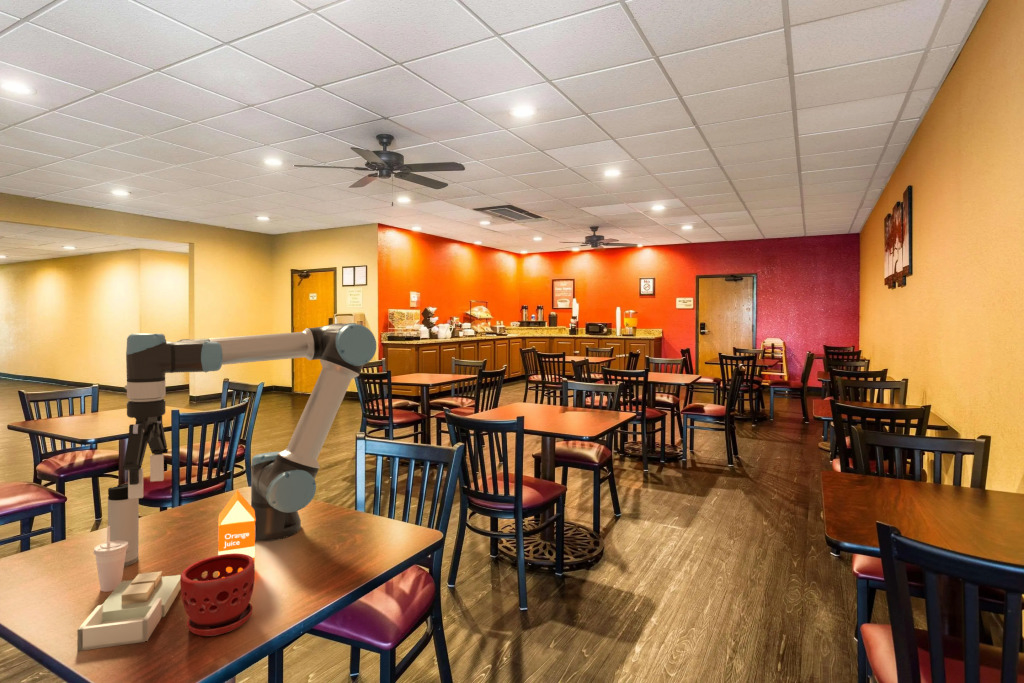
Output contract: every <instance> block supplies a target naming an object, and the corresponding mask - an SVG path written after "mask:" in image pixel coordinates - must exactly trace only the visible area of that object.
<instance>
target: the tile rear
mask: <svg viewBox="0 0 1024 683" xmlns="http://www.w3.org/2000/svg"><path fill="white" fill-rule="evenodd" d="M162 577H163V571H162V570H161V571H153V572H142V573H138V574H137V575H136V576H135V577H134V579H132V580H133V581H132V583H131V585H135V584H144V583H153V582H154V590H155V589H156V588H157V586H158V585H159V583H160V582H161V580H162Z"/></svg>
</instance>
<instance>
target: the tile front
mask: <svg viewBox="0 0 1024 683" xmlns="http://www.w3.org/2000/svg"><path fill="white" fill-rule="evenodd" d="M153 592H154V582H153V583H144V584H135V585H129V586H128V588H127V589H126V590H125V591H124V593H123V594H122V604H121V605H124V604H133V603H141V602H147V601H148V600H149V598H150V597H151V595H152V594H153Z"/></svg>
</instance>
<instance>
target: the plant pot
mask: <svg viewBox="0 0 1024 683" xmlns="http://www.w3.org/2000/svg"><path fill="white" fill-rule="evenodd" d="M227 567H231V568H232V572H227V571H226V568H227ZM255 567H256V566H254V560H253V558H252V557H251V556H249V555H246V554H238V553H233V554H223V555H218V554H217V555H213V556H210V557H206V558H203V559H201V560H198V561H196V562H194V563H191V564H190V565H189V566H187V567H186V568H185V569H183V571H182V572H181V574H180V575H181V577H180V585H181V589H180V593H181V601H182V605H183V607H184V610H185V612H186V614H187V616H188V619H187V622H186V626H187V629H188V630H189V631H190V632H191V633H192V634H194V635H197V636H202V637H215V636H218V635H219V636H220V635H222V634H225V633H229V632H231V631H234V630H236V629H238V628H240V627H241V626H242V625H244V624H245V623H246V622H248V620H249V619H250V618H251V616H252V614H253V605H252V604H251V603H250V601H251V599H252V596H253V592H254V586H255V580H256V579H255V578H256V577H255V574H256V572H255V571H256V570H255ZM239 568H242V569H243V570H242V571H240V572H238V569H239ZM218 571H219V573H220V574H219V576H218V575H217V576H214V573H215V572H218ZM205 572H207V574H206V575H205V576H204V577H203V576H202V575H203V573H205ZM222 577H224V578H222Z"/></svg>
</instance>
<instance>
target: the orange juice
mask: <svg viewBox="0 0 1024 683" xmlns="http://www.w3.org/2000/svg"><path fill="white" fill-rule="evenodd" d="M255 521H256V519H255V511H254V509H253V508H252V507H251V503H249V502H248V500H247V499H246V498H245V497H244V496H243V495H242V494H241V492H240V491H239V490H238V489H236V492H235V493H234V494H233V495H232V497H231V498H230V499H229V501H228V502H227V504H226V505H225V506H224V508H223V509H222V510H221V511H220V513H219V514H218V547H217V548H218V550H217V552H218V554H217V556H218V555H223V554H233V553H238V554H246V555H249V556H251V557H252V558H253V560H254V566H255V563H256V562H255V561H256V560H255V559H256V558H255V557H256V540H255V531H256V530H255V528H256V527H255ZM255 567H256V566H255ZM242 570H243V569H242V568H239V569H238V572H240V571H242ZM226 571H227V572H232V568H231V567H227V568H226ZM217 573H218V574H217V577H218V576H219V574H220V573H219V571H217ZM222 578H224V577H222Z"/></svg>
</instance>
